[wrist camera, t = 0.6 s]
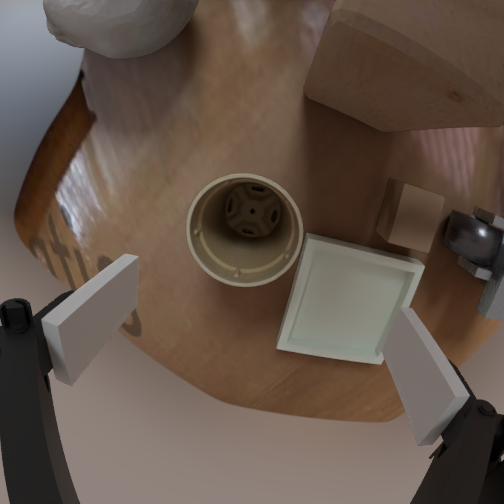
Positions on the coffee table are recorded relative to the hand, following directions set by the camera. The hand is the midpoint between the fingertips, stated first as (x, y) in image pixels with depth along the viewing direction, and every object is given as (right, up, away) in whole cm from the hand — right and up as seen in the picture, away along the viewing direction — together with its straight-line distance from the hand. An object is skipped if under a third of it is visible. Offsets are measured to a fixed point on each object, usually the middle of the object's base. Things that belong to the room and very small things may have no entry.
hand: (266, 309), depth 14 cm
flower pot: (-1, +7, +18) cm, 20 cm away
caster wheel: (+26, +5, +16) cm, 31 cm away
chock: (+16, +7, +16) cm, 24 cm away
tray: (+11, -3, +20) cm, 23 cm away
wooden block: (+11, +21, +12) cm, 26 cm away
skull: (-14, +30, +11) cm, 35 cm away
